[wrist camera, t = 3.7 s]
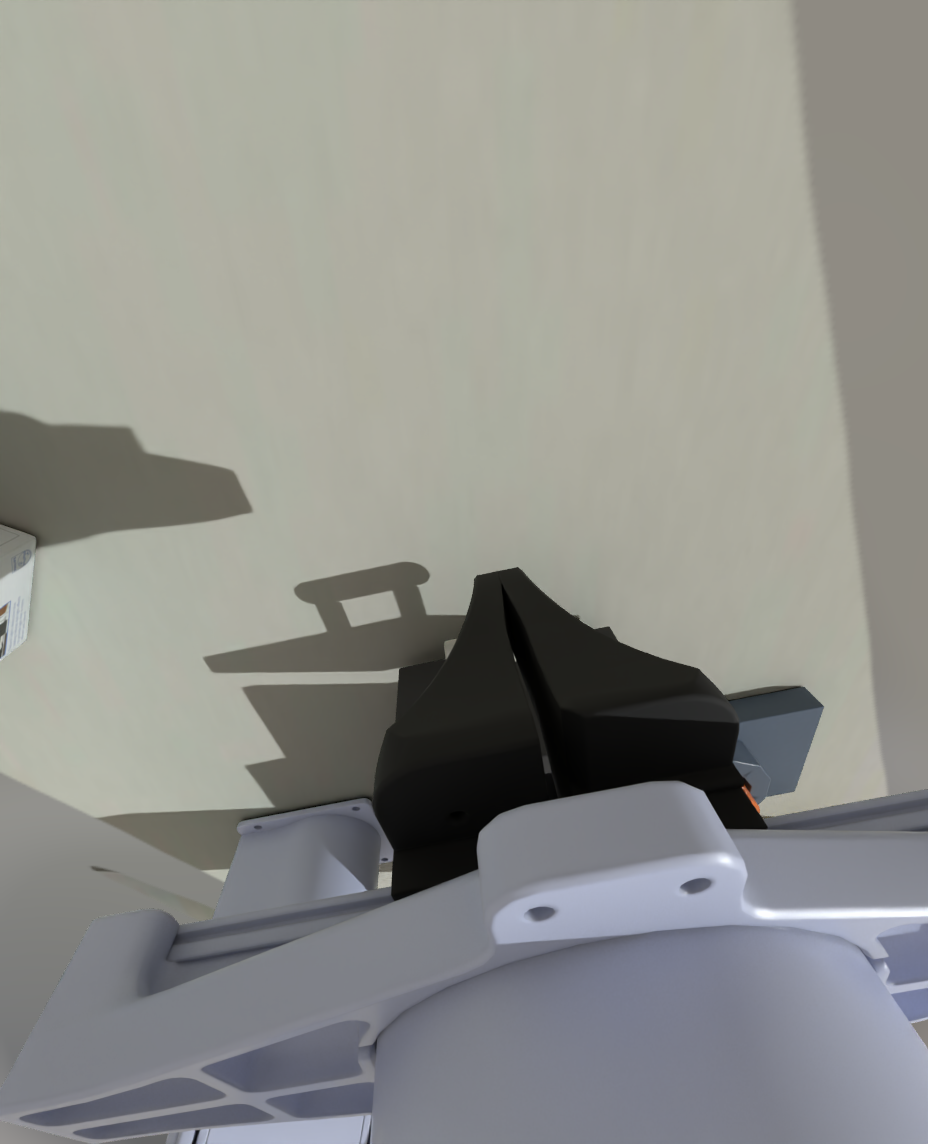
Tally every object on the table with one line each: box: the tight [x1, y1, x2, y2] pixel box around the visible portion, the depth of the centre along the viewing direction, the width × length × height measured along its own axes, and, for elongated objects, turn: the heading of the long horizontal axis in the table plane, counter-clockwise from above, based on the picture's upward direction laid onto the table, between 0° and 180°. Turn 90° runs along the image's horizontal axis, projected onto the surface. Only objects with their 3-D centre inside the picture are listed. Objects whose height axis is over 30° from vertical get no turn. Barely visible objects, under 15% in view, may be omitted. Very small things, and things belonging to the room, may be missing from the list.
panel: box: [729, 687, 824, 804], centre depth 29 cm, size 11×9×4 cm
